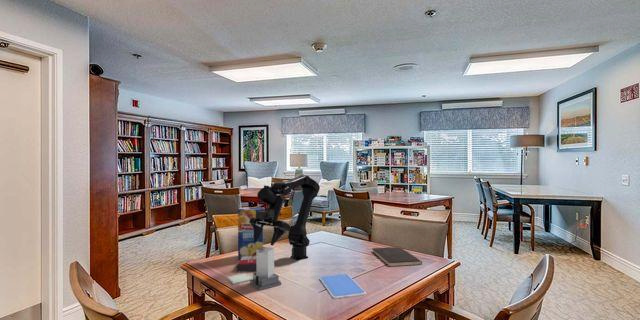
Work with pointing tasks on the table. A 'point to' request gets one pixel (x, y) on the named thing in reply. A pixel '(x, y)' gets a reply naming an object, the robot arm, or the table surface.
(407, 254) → the hardcover book
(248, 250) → the blue food box
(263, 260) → the grey stepped block
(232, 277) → the pad
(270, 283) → the vise
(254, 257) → the calculator
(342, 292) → the tablet computer
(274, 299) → the table surface
